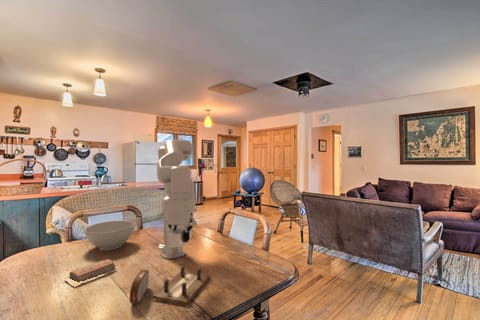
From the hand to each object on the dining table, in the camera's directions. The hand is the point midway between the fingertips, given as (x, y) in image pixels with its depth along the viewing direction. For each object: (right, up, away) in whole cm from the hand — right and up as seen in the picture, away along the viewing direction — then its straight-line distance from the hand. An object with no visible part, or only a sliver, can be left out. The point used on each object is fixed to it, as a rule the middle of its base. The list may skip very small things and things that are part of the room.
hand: (180, 240), depth 101 cm
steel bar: (0, 0, 0) cm, 0 cm away
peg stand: (+2, -18, -3) cm, 19 cm away
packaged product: (-42, -19, +8) cm, 47 cm away
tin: (-13, -19, -8) cm, 24 cm away
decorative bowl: (-52, -18, +44) cm, 70 cm away
